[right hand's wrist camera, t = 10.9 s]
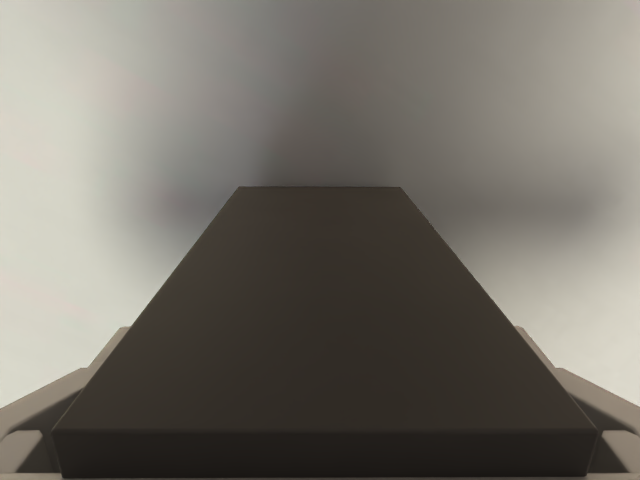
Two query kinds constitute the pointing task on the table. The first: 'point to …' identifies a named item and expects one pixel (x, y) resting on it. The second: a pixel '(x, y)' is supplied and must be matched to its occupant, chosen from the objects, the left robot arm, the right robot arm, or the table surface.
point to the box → (322, 358)
